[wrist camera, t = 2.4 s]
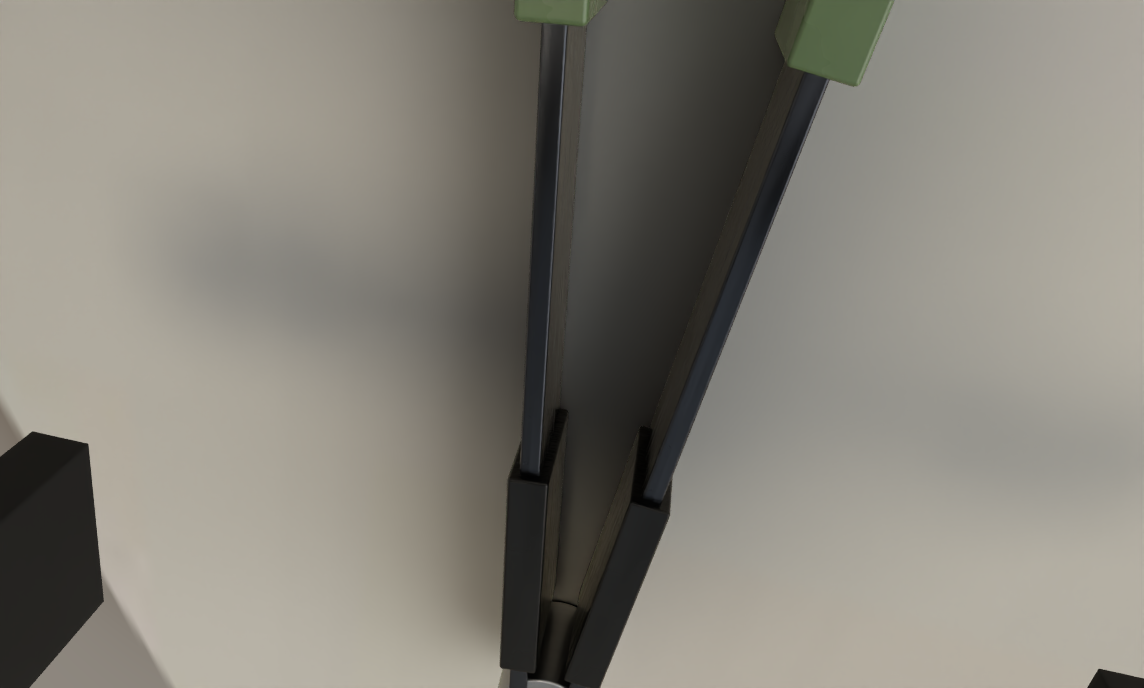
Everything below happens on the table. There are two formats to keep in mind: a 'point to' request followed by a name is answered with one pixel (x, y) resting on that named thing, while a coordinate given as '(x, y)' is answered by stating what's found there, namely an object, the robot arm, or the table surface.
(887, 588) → the table surface
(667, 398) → the tongs
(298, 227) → the table surface
